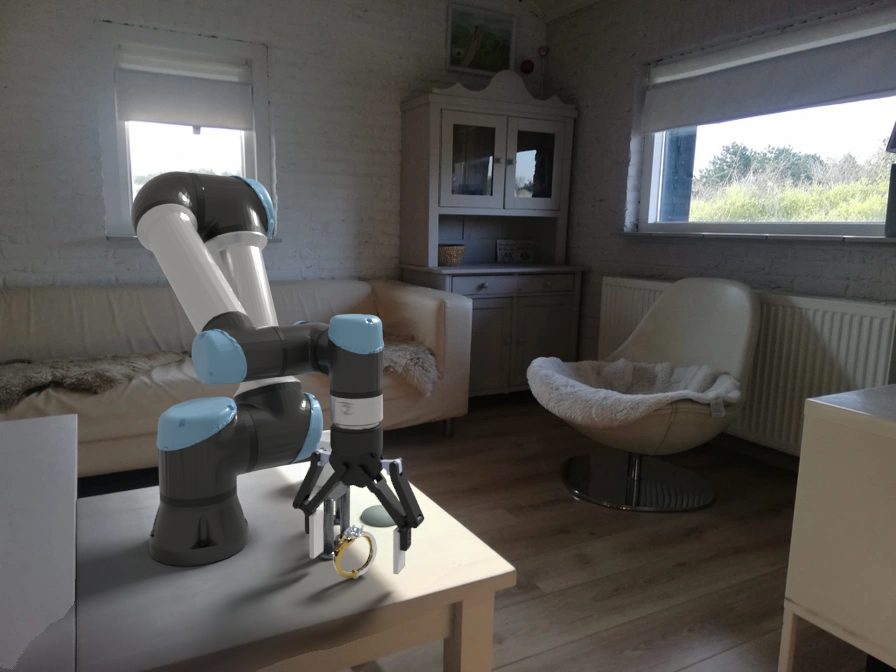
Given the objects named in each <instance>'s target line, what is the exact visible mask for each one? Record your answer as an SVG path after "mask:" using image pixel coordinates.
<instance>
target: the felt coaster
mask: <svg viewBox="0 0 896 672" xmlns="http://www.w3.org/2000/svg"><path fill="white" fill-rule="evenodd" d="M361 518H362V521H364V523H366V524H369V525H371V526H376V527H391V526H397V525H396V524H395V522H394V521H393V519H392V518H391V517H390V515H389V514H388V513H387V511H386V510H385V508H384V507H383V506H382V504H377V505H372V506H369V507H366V508H365V509H363V511H362V512H361Z"/></svg>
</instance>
